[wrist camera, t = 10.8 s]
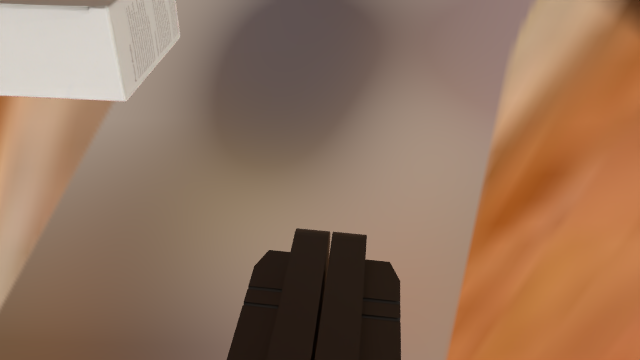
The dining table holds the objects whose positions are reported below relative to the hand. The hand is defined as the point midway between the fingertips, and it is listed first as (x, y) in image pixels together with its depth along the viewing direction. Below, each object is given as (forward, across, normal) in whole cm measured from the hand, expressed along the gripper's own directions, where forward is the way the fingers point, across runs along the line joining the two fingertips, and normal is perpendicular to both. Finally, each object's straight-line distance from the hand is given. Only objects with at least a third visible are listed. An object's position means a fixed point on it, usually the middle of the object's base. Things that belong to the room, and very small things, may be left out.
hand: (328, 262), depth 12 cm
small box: (+29, +17, +4) cm, 34 cm away
